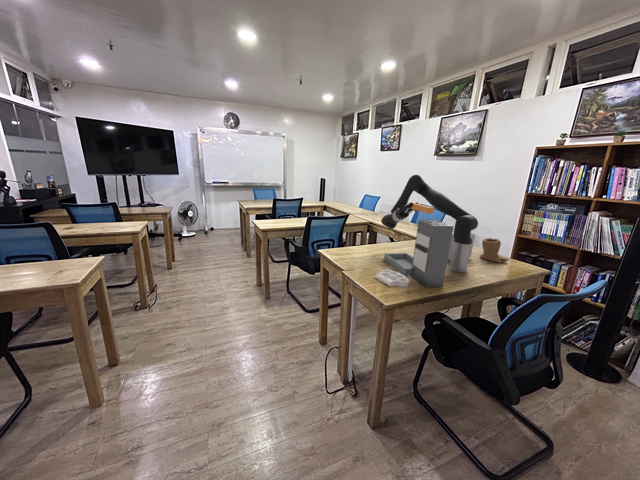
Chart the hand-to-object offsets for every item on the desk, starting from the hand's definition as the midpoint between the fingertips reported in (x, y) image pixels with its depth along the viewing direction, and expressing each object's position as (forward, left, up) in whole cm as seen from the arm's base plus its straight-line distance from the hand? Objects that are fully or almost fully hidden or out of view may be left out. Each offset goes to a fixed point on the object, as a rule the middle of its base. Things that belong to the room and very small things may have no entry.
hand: (415, 203), depth 143 cm
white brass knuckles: (+24, +5, -40) cm, 46 cm away
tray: (-1, -2, -39) cm, 39 cm away
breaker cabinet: (+10, +18, -39) cm, 44 cm away
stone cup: (-61, +28, -39) cm, 78 cm away
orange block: (+3, +5, -3) cm, 6 cm away
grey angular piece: (-41, +9, -39) cm, 57 cm away
